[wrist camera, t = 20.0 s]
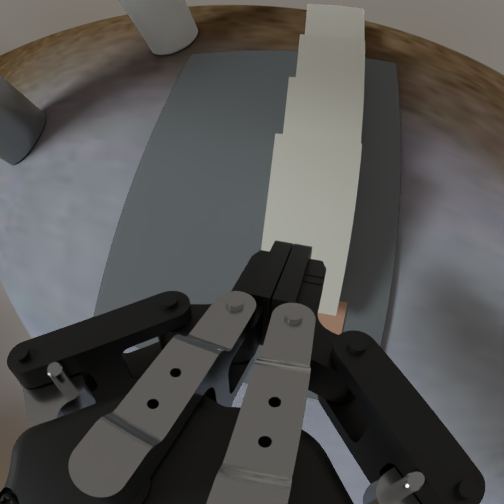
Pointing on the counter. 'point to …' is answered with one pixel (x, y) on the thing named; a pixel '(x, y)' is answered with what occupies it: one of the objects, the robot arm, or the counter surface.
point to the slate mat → (247, 190)
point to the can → (163, 24)
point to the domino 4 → (314, 203)
